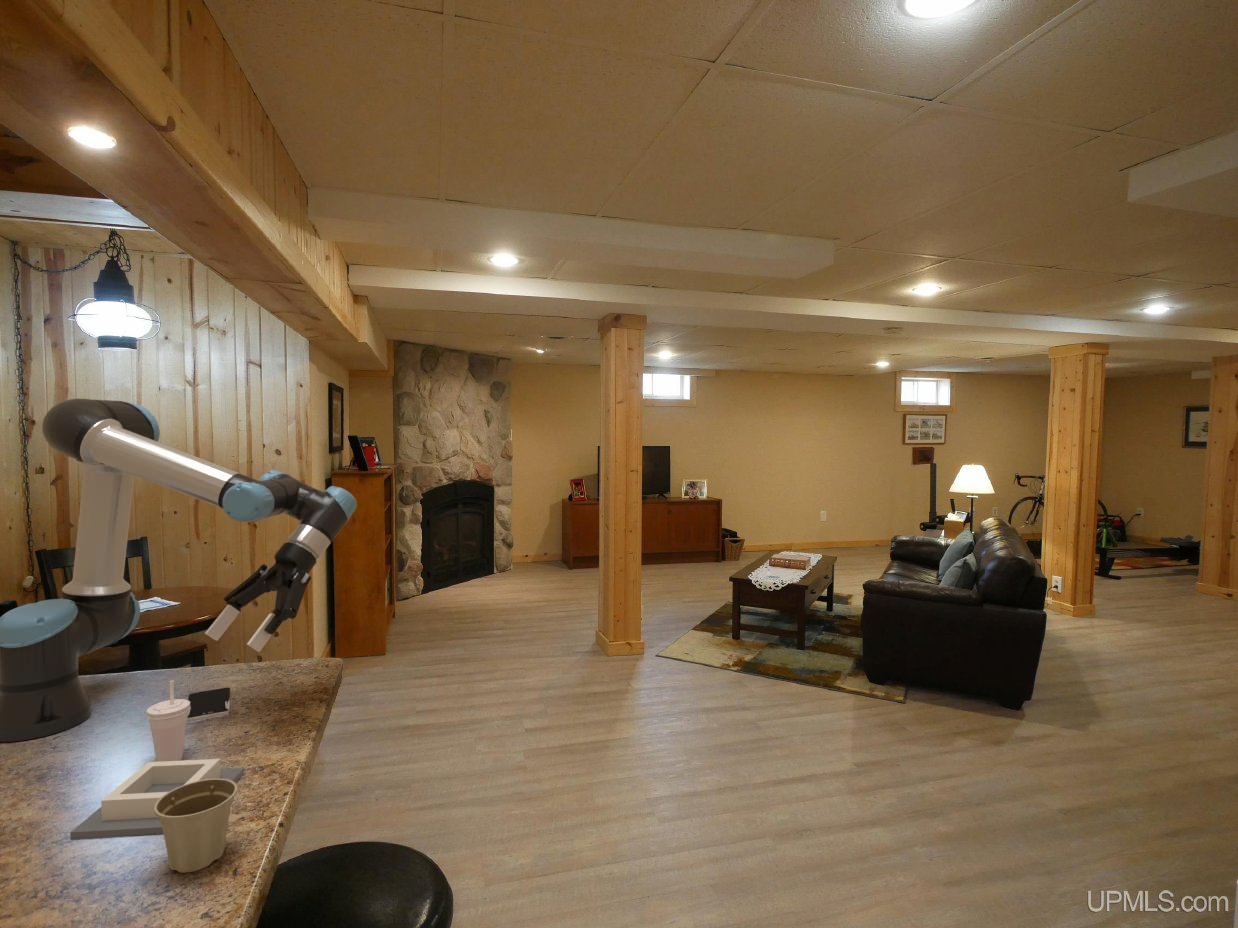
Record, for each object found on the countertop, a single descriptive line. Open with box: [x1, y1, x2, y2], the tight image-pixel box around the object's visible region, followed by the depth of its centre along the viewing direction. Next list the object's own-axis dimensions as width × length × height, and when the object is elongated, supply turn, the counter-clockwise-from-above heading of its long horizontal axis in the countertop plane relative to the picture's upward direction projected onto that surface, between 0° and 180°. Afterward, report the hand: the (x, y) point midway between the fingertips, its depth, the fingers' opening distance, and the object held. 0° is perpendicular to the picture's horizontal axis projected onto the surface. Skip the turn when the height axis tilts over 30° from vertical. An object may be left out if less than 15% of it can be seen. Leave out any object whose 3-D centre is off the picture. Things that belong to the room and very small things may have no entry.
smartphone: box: [187, 686, 231, 722], centre depth 134 cm, size 8×1×15 cm
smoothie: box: [145, 679, 191, 762], centre depth 111 cm, size 6×6×14 cm
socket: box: [69, 758, 245, 840], centre depth 98 cm, size 16×16×4 cm
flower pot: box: [154, 778, 238, 874], centre depth 86 cm, size 9×9×9 cm
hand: (231, 642), depth 120 cm, fingers open, 13 cm apart
